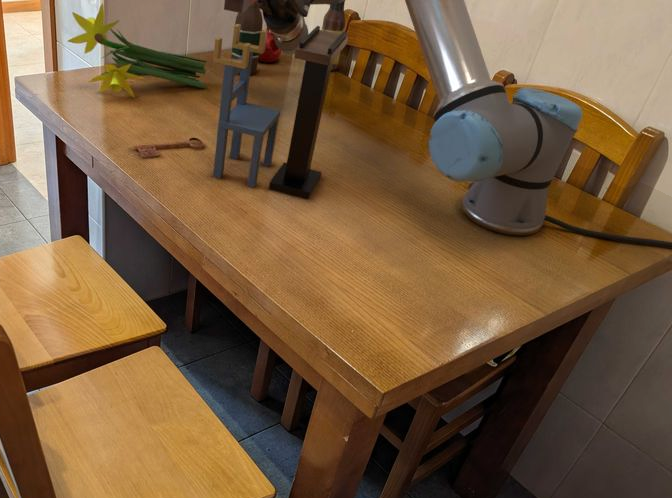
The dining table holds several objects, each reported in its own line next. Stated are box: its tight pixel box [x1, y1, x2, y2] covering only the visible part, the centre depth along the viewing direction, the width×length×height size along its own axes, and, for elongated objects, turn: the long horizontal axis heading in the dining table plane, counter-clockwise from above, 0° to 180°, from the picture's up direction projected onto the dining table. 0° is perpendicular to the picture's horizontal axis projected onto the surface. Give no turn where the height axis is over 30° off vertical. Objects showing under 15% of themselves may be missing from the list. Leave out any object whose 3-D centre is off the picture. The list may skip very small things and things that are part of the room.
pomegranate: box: [258, 24, 282, 63], centre depth 182 cm, size 10×10×9 cm
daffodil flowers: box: [67, 3, 208, 98], centre depth 153 cm, size 17×15×35 cm
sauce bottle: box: [321, 0, 346, 72], centre depth 178 cm, size 7×6×20 cm
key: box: [133, 137, 204, 159], centre depth 134 cm, size 6×1×15 cm
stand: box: [268, 25, 349, 200], centre depth 119 cm, size 14×8×27 cm, turn 159°
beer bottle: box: [230, 3, 264, 76], centre depth 168 cm, size 8×8×24 cm
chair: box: [212, 24, 282, 188], centre depth 122 cm, size 12×11×25 cm
